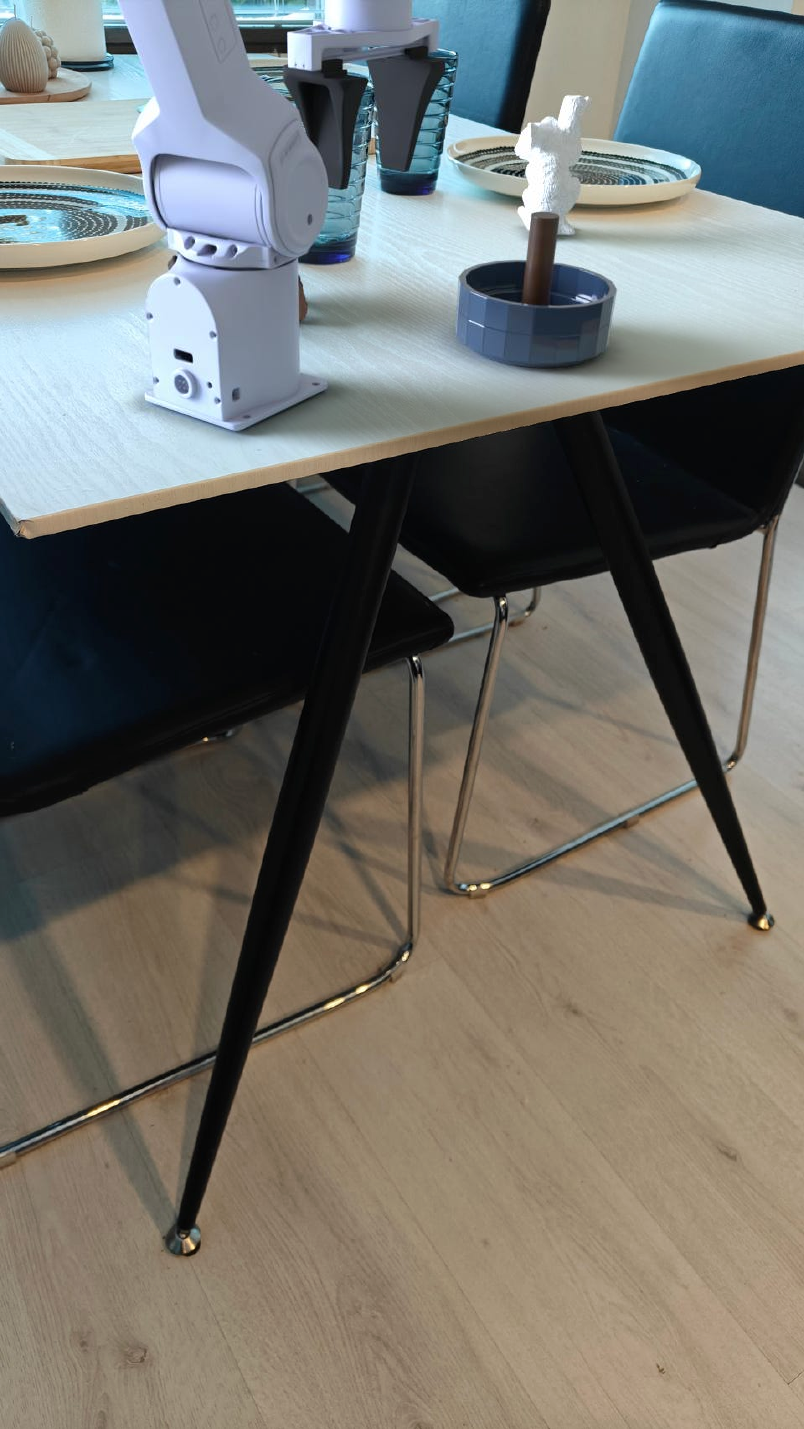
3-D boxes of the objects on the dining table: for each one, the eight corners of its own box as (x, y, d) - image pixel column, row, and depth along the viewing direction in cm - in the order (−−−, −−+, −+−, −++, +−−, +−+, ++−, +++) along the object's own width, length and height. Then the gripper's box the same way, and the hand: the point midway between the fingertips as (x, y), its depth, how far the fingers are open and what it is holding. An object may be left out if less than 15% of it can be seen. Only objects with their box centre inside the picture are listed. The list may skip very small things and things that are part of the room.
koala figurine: (554, 221, 111) (570, 87, 104) (601, 236, 107) (622, 98, 100) (492, 231, 107) (504, 92, 100) (539, 248, 103) (555, 104, 96)
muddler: (541, 348, 80) (556, 224, 74) (498, 337, 81) (510, 215, 76) (563, 335, 82) (579, 214, 77) (522, 324, 84) (535, 206, 78)
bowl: (562, 384, 76) (571, 319, 73) (425, 346, 81) (429, 284, 78) (631, 341, 83) (641, 280, 81) (502, 309, 88) (508, 251, 86)
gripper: (383, -62, 76) (377, 154, 84) (246, -59, 66) (255, 185, 74) (469, -55, 73) (455, 169, 81) (339, -50, 63) (338, 203, 71)
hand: (365, 178), depth 77 cm, fingers open, 7 cm apart
